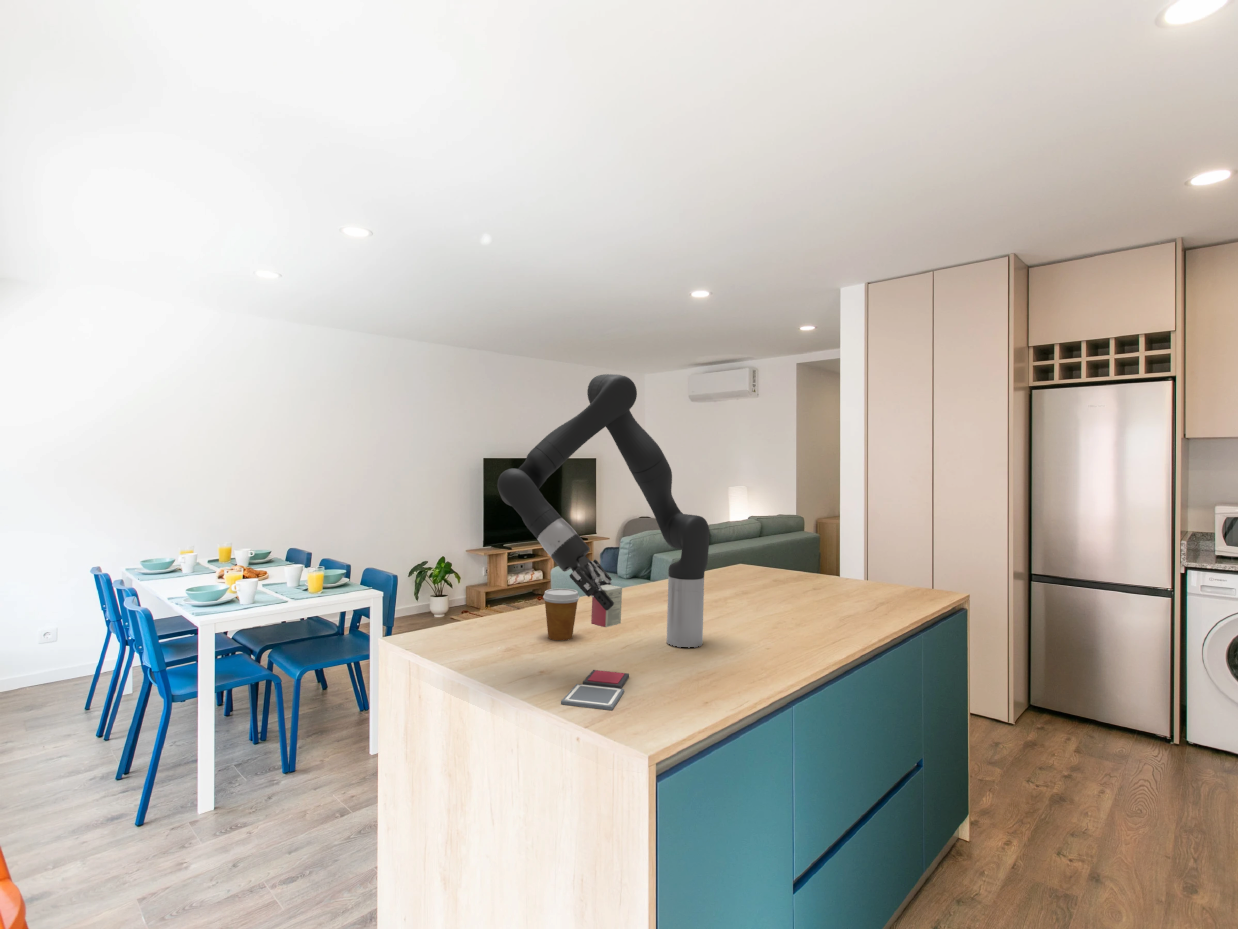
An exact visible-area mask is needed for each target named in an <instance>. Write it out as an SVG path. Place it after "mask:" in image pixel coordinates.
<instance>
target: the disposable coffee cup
mask: <svg viewBox="0 0 1238 929" xmlns="http://www.w3.org/2000/svg"><path fill="white" fill-rule="evenodd" d="M578 592H579V591H578V590H576V589H571V588H551V589H549V588H548V589H547V590H545V591H544V595H543V596H542V598H543V600H544V606H545V607H544V608H545V616H546V618H545V619H546V626H547V627H546V628H547V630H546V631H547V637H548V639H549V640H552V641H558V640H560V641H561V640H563V641H569V640H571V639H573V634H574V627H575V621H576V615H577V614H576V613H577V607H578V602H579V599H580V595H579V593H578ZM568 639H569V640H568ZM561 642H562V641H561Z"/></svg>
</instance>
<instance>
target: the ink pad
mask: <svg viewBox="0 0 1238 929" xmlns="http://www.w3.org/2000/svg"><path fill="white" fill-rule="evenodd" d="M629 678H630V673H629V672H628V673H627V672H617V671H611V670H609V671H607V670H598V669H592V671H591V672H589V674H588V675H587V676H586V678H585V679H583V681H582V684H584V685H593V686H602V687H611V688H620V689H623V687H624V685H625V684H626V682H627V681H628V679H629Z"/></svg>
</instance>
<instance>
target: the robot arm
mask: <svg viewBox="0 0 1238 929" xmlns="http://www.w3.org/2000/svg"><path fill="white" fill-rule="evenodd" d="M586 390H587V391H586V393H587V399H588V402H589V405H588V406H587V407H586V408H584V409H583V410H582V411H581V412H579V413H578V414H577V415H575V416H574V417H572V418H570V420H568V421H566V422H564V423H563V424H561V425H560V426H558V427H557V428H555V429H554V430H552V431H551V432H550V433H548V434H547V435H546V436H545V437H544V438H543V439H542V440H540V441H539V443H537V444H536V445H535V446H534V447H533V448H532V449H531V450H530V451H529V453H528V454H527V455H526V458H525V460H524V462H523V463H522V464H521V465H520V466H519V467H518V468H508V469H506V470H504V471H503V472H501V473H500V475H499V476H498V480H497V490H498V492H499V495H500V496H499V497H500V499H501V500H502V501H503V502H504V503H505V504H506V505H508V506H510V507H512V508H513V509H514V510H515V511H516V513H517V514H518V515H519V516H520V517H521V519H522V521H523V524H524V525H525V526H526V528H527V530H528V531H529V532H530V533H531V534H532V535H533V536H534V537H535V538H536V540H537V542H539V544H540V545H541V547H542V548H543V550H544V551H545V552H546V553H547V555H549V556H550V558H551V559H552V560H553V561H554V563H555V564H556V565H557V566H558V567H559V569H561V571H562V572H564V573H565V572H568V571H569V570H571V571H572V572H571V573H570V574H569V578H570V579H571V580H572V581H573V582H574V583H575V585H576V586H577V587H578V588H579V589H580V590H581V591H582V592H583V593H584V594H585V595H586V596H587V597H588V598H589V597H591V598H592V597H593V598H594V597H595V599H596V600H597V601H598V602H599V603H600V604H601V606H602V607H603V608H604V609H605V610H609V609H610V608H611V607H612V606H613V605H614V602H613V601H612V600H611V599H610V598H609V596H608V595H607V594H606V593H605V592H604V591H602V588H601V586H602V585H612V584H613V583H612V580H613V579H612V577H611V576H610V575H609V574H608V572H607V571H606V570H605V569H604V567H603V566H602V564H600V562H598V560H597V559H593V560H590V559H589V558H588V556H587V555H588V553H589V552H590V550H591V549H590V546H589V545H588V544H587V543H586V542H585V541H584V540H583V538H582V537H581V536H580V535H579V534H578V533H577V532H576V530H575V528H573V527H572V526H571V524H570V523H568V521H566V520H565V519H564V517H563V516H561V515H560V514H559V513H558V511H557V510H556V509H555V508H554V507H553V506H552V505H551V504H550V503H549V502H548V501H547V499H546V497H544V495H543V493H542V492H541V491H540V488H541V487H542V486H543V485H544V484H545V482H546V481H547V479H548V478H549V477H550V476H551V475H552V474H554V473H555V472H556V471H557V470H558V469H559V468H560V467H561V466H562V465H563V464H564V463H566V461H567V460H568V459H569V458H570V457H571V456H573V455H574V453H576V452H577V451H578V450H579V449H580V448H581V447H582V446H583V445H585V444H586V443H587V442H588V441H589V440H590V439H592V438H593V437H594V436H595V435H597V434H598V433H599V432H600V431H602V430H603V429H604V428H606V429H607V430H608V432H609V434H610V435H611V437H612V439H613V441H614V443H615V445H616V447H617V449H618V451H619V452H620V454H621V456H622V458H623V460H624V462H625V464H626V466H627V467H628V469H629V471H630V473H631V475H632V476H633V478H634V481H635V482H636V484H637V485H638V487H639V488H640V491H641V493H642V494H643V495H644V498H645V500H646V501H647V503H648V505H649V507H650V510H651V511H652V514H653V515H654V518H655V520H656V523H657V526H658V528H659V530H660V532H661V535H662V537H663V539H664V541H665V542H666V543H667V545H668V546H670V547H671V548H674V549H677V550H681V552H680V554H681V555H680V559H679V560H678V561H677V562H674V563H671V564H670V565H669V566H668V572H667V573H668V578H667V612H666V613H667V620H666V621H667V622H666V644H668V645H669V644H670V645H669V646H672V645H673V646H672V647H675V646H677V647H676V648H681V647H688V648H687V649H691V648H690V647H694V648H699V647H701V646H703V636H704V635H703V634H704V600H705V599H704V596H705V591H704V590H705V573H706V569H707V566H708V561H709V551H710V550H709V549H710V526H709V524H708V521H707V519H705V518H704V517H703V516H700V515H697V514H689V513H688V514H687V513H683V512H682V510H680V508H679V507H678V505H677V503H676V501H675V499H674V496H673V493H672V487H673V486H672V485H673V472H672V468H671V466H670V464H669V462H668V460H667V457H666V456H665V454H664V452H663V450H662V448H661V447H660V445H658V442H656V441H655V439H653V437H652V436H651V435H650V434H649V433H648V432H647V431H646V430H645V429H644V428H643V426H641V425H640V424H639V422H638V421H637V420H636V419H635V417H634V416H633V414H632V412H631V409H632V407H633V406H634V405H635V402H636V400H637V397H638V393H637V392H638V390H637V387H636V384H635V382H634V381H633V380H632V379H631V378H630V377H628V376H626V375H623V374H611V373H610V374H609V373H608V374H607V373H606V374H599V375H595V376H594V377H593V378H592V379H591V380H590V381H589V384H588V386H587V389H586ZM698 646H699V647H698Z"/></svg>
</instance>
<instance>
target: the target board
mask: <svg viewBox="0 0 1238 929" xmlns="http://www.w3.org/2000/svg"><path fill="white" fill-rule="evenodd" d="M624 693H625V688H621V689H620V688H611V687H602V686H593V685H584V684H583V683H582V684H581V683H576V684H575V685H574V686H572V688H571V689H570V690H569V692H568V693H567V694H566V695H565V696H564V697H563V698H562V699H561V700H560V705H565V706H574V707H579V708H580V707H581V708H589V709H598V710H607V711H613V710H614V708H615V707H616V705H617V704H618V702H619V701H620V699H621V697H622V696H623V695H624Z"/></svg>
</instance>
